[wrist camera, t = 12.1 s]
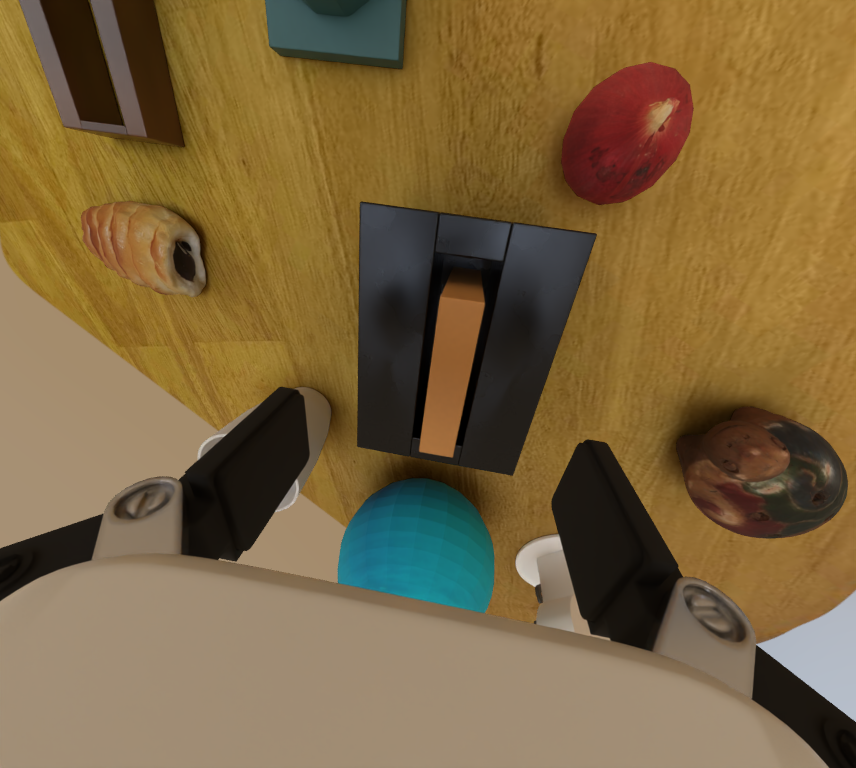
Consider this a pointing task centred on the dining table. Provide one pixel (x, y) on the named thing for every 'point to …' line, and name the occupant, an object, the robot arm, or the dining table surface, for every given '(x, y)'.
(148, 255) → the pastry
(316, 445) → the cup
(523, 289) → the toaster
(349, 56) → the block
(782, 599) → the dining table surface
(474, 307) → the toast
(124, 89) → the brown rectangular frame
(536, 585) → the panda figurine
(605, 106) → the onion
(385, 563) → the decorative orb
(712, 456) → the brown mottled ceramic figure
